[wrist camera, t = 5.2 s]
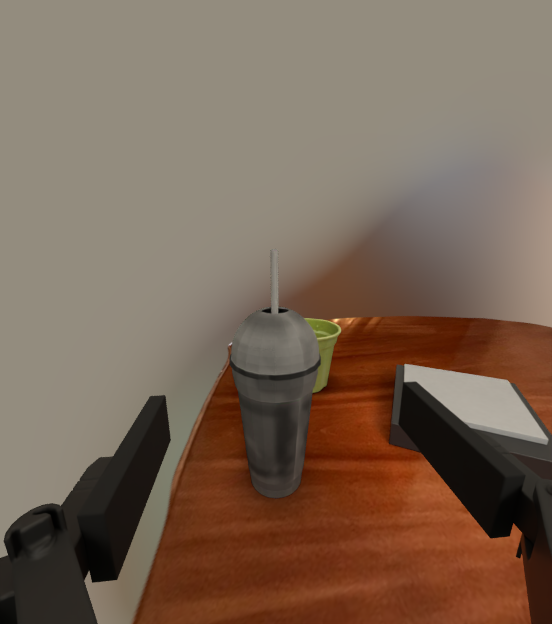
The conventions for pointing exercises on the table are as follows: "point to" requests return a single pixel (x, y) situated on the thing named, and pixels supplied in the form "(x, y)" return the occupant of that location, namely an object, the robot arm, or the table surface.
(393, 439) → the scale
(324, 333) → the plant pot
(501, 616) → the table surface
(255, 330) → the beverage cup
